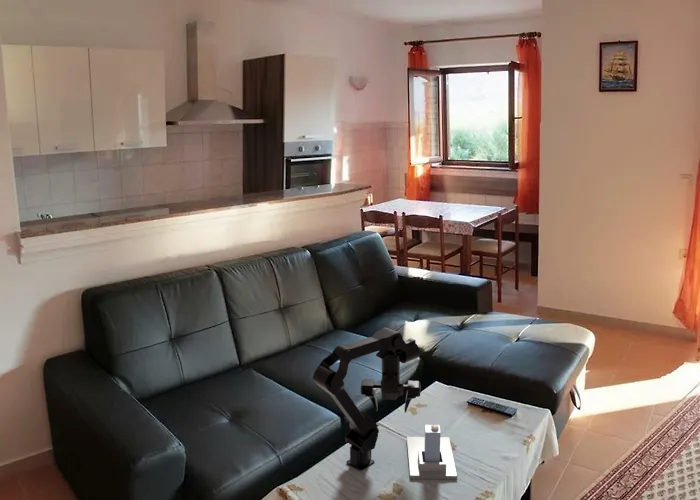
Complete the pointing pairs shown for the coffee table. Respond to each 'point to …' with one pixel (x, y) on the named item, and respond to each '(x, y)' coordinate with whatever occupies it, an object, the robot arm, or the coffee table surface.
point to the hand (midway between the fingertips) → (390, 411)
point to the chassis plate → (430, 469)
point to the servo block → (432, 443)
